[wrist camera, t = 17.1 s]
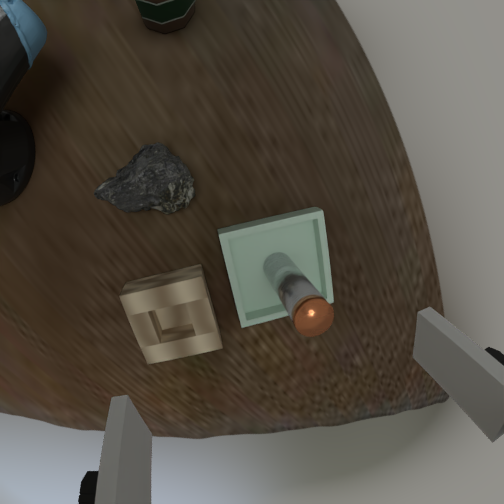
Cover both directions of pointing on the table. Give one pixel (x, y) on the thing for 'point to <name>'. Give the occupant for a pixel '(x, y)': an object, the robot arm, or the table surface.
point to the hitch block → (172, 314)
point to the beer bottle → (166, 14)
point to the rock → (150, 182)
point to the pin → (298, 295)
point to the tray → (266, 243)
